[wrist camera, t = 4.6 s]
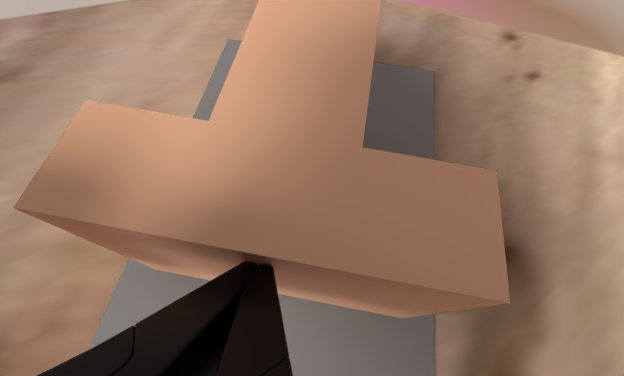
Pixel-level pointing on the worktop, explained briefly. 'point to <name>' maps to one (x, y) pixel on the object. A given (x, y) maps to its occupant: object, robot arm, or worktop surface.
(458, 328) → the worktop surface
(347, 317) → the mat
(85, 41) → the worktop surface
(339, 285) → the t block
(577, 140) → the worktop surface
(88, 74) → the worktop surface
